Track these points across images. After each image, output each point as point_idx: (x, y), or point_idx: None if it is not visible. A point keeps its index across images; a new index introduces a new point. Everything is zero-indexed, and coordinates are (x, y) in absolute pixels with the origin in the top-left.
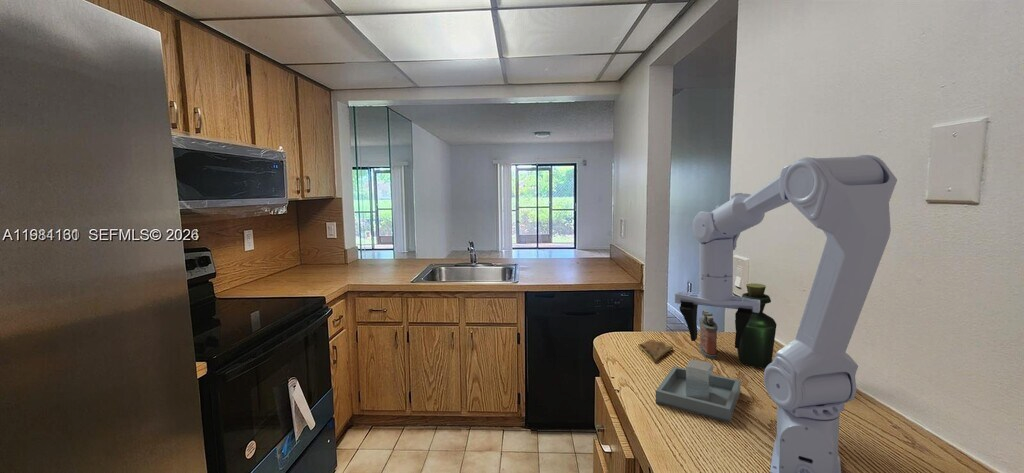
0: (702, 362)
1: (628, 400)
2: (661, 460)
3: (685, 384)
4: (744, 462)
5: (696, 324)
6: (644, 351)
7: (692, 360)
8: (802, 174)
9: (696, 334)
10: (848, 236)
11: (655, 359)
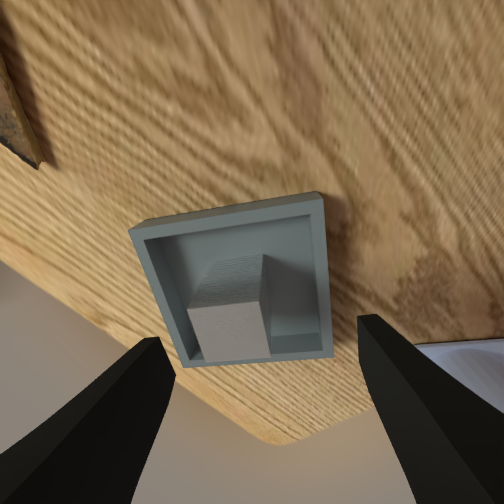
0: (229, 314)
1: None
2: (276, 444)
3: (194, 254)
4: (368, 406)
5: (105, 402)
6: None
7: (197, 317)
8: None
9: (152, 365)
10: None
11: (35, 159)
